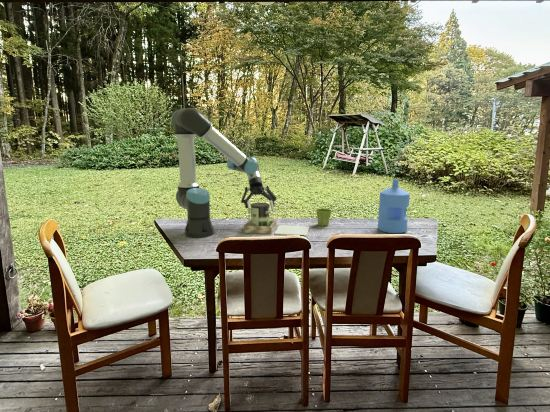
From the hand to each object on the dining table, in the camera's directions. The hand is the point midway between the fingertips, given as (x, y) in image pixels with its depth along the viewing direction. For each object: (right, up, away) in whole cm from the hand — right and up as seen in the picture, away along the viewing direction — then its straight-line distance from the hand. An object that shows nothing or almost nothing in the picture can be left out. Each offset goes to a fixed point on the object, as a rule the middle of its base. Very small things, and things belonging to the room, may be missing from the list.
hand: (261, 211), depth 213 cm
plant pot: (+35, -8, +9) cm, 38 cm away
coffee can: (-1, -10, 0) cm, 10 cm away
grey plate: (+17, -10, -3) cm, 20 cm away
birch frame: (-1, -10, -1) cm, 10 cm away
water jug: (+72, -10, 0) cm, 73 cm away
